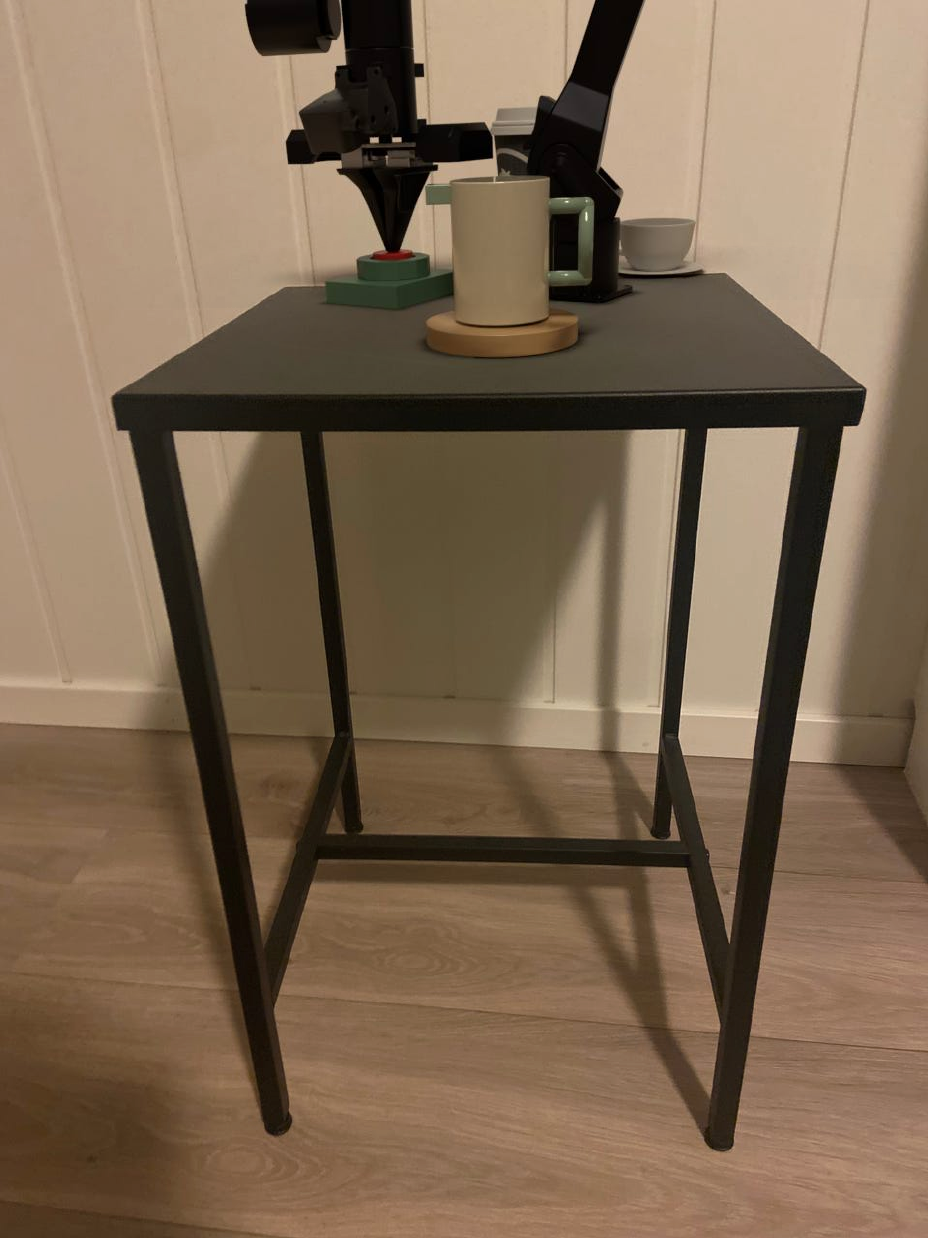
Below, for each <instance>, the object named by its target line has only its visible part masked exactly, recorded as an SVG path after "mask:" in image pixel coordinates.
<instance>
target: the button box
mask: <svg viewBox="0 0 928 1238" xmlns="http://www.w3.org/2000/svg"><path fill="white" fill-rule="evenodd" d="M412 252H413V251H412ZM355 262H356V273H355V274H351V275H346V276H343V277H342V276H341V277H338V278H333V279H330V280H325V291H326V300H327V301H326V303H328V304H339V305H350V306H361V307H371V308H384V309H393V310H398V309H403V308H406V307H410V306H413V305H415V304H416V305H417V304H420V303H423V302H427V301H431V300H433V299H438V298H440V297H445V296H448V295H451V294H454V285H453V268H451V269H449V268H437V267H436V268H435V267H431V260H430V254H428V253H423V252H415V251H414V252H413V258H409V259H400V260H373V253H372V254H371V253H370V254H365V255H361V256H359V257H358V258H356V260H355Z"/></svg>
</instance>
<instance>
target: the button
mask: <svg viewBox="0 0 928 1238" xmlns="http://www.w3.org/2000/svg"><path fill="white" fill-rule="evenodd" d="M372 254H373V260H400V259H409V258H413V250H411V249H407V248H405V249H404V248H401V249H400V251H398V252H387V251H386V250H385V249H382V250H375V251H374V252H372Z"/></svg>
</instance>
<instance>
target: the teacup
mask: <svg viewBox="0 0 928 1238" xmlns="http://www.w3.org/2000/svg"><path fill="white" fill-rule="evenodd" d="M695 227H696V220H694V219H691V218H684V217H683V218H682V217H644V218H643V217H642V218H631V219H625V220H622V221H620V248H621V249H620V248H619V257H620V256H621V257H624V258H625V261H619V270H618V274H619V273H620V274H625V275H640V276H641V275H642V276H656V275H657V276H661V275H676V274H677V275H678V274H686V273H691V272H692V273H693V272H698V271H700V270H702V269H705V268H706V265H705V264H703V263H701V262H697V261H691V260H685V259H686V257H687V255H688V253H689V252H690V250H691V247H692V243H693V238H694V232H695V229H696V228H695Z"/></svg>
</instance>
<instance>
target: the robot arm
mask: <svg viewBox="0 0 928 1238" xmlns="http://www.w3.org/2000/svg"><path fill="white" fill-rule="evenodd" d="M645 3H646V0H594V3H593V6H592V9H591V12H590V14H589V15H590V16H589V18H588V21H587V24H586V28H585V29H584V30H585V31H584V33H583V36H582V40H581V43H580V45H579V49H578V52H577V54H576V58H575V60H574V64H573V67H572V70H571V73H570V75H569V76H568V79H567V80H566V82H565V85H564V86H563V88H562V90H561V92H560V93H559V95H558V97H557V98H556V99H555V98H553V97H552V96H550V95H543V94H541V95H540V96H539V97H538V101H537V106H536V107H537V112H536V119H535V124H534V128H533V131H532V133H531V135H530V138H529V139H528V140H527V142H526V143H525V144H524V146H523V150H529V149H531V151H530V154H529V156H528V162H527V176H546V177H549V178H550V198H575V197H589V198H591V199H592V200H593V202H594V225H593V261H592V280H591V282H590V283H589V284H588V285H578V286H550V287H549V299H557V300H569V301H581V302H582V301H583V302H598V303H599V302H600V303H601V302H602V303H603V302H606V301H609V300H611V299H614V298H617V297H620V296H622V295H625V294H628V293H630V292H633V290H634V289H633V286H634V285H632V284H622V283H621V284H619V273H618V270H619V262H620V255H619V249H620V247H621V243H620V222H621V217H620V216H616V215H617V213H618V210H619V207H620V205H621V202H622V199H623V196H624V190H623V188H622V187H621V186H620V185H619V184H618V183H617V182H616V181H615V179H613V178H612V176H611V175H610V174H609V173H608V172H607V171H606V170H605V169H604V168H603V167H602V159H603V155H604V149H605V144H606V141H607V134H608V129H609V124H610V123H609V122H610V116H611V111H612V105H613V100H614V94H615V89H616V86H617V83H618V80H619V77H620V75H621V71H622V69H623V66H624V63H625V60H626V57H627V54H628V52H629V49H630V46H631V43H632V40H633V37H634V35H635V31H636V29H637V26H638V23H639V20H640V18H641V14H642V13H643V12H642V11H643V9H644V6H645ZM244 13H245V19H246V25H247V29H248V34H249V36H250V39H251V42H252V44H253V46H254V48H255V49H254V50H256V52H257V53H258V54H259V56H262V57H275V56H290V55H291V56H295V55H315V54H327V53H328V52H329V51H330V49H331V46H332V44H333V43H332V42H333V41H338V39H339V38H340V35H341V33H343V45H344V46H343V47H344V59H345V64H342V65H341V64H340V65H335V72H334V89H333V90H331V91H328V92H326V93H324V94H322V95H320V96H319V97H317V98H316V99H314V100H313V101H312V102H310V103H309V104H308V105H306V106H305V107H303V108H302V109H300V110H299V111H298V116H299V119H300V122H301V125H302V127H303V128H297V129H296V128H295V129H291V130H290V131H289V134H288V135H287V138H286V140H285V151H286V152H285V153H286V159H287V165H314V164H315V163H322V162H339V161H340V163H341V164H340V165H341V167H340V168H336V169H335V170H336V173H337V174H338V175H339V176H345V177H346V178H347V179H348V180H350V181H351V183H353V184H354V185H355V187H357V189H359V191H360V193H361V195H362V197H363V199H364V201H365V203H366V205H367V208H368V210H369V212H370V215H371V217H372V220H373V222H374V225H375V227H376V230H377V232H378V235H379V237H380V239H381V242H382V245H383V247H384V250H386V251H387V252H398V251H400V249H402V245H403V243H404V240H405V237H406V234H407V231H408V229H409V226H410V223H411V220H412V217H413V214H414V212H415V209H416V207H417V204H418V201H419V199H420V196H421V195H422V192H423V191H424V189H425V186H426V184H427V181H428V179H429V177H430V175H431V173H432V172H438V171H439V163H440V164H442V163H444V164H446V163H449V164H450V163H465V162H473V161H483V160H493V159H494V135H491V133H490V128H489V127H488V125H487V123H486V122H485V121H473V122H449V123H430V124H428V122H427V121H428V120H427V118H418V102H417V83H416V78H418V79H419V78H425V63H423V62H415V45H414V28H413V7H412V0H246V3H244ZM374 138H377V139H378V141H377V142H371V139H374ZM394 138H395V139H396V138H400V141H393V139H394ZM553 217H554V220H555V221H554V230H553V271H575V270H578V242H579V213H575V214H553Z"/></svg>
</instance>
